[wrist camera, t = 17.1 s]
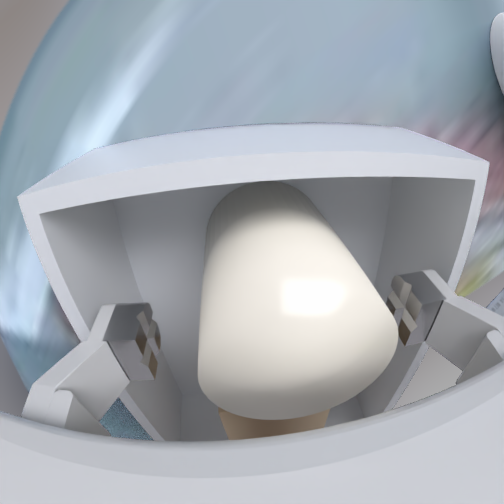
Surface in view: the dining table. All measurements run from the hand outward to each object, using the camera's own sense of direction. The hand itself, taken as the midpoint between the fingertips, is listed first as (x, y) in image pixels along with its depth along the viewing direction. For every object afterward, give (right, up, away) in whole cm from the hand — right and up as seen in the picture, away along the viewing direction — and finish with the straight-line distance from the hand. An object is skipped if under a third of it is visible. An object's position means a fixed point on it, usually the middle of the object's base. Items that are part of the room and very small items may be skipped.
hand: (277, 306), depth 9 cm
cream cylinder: (0, +2, +4) cm, 5 cm away
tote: (0, -1, +6) cm, 6 cm away
